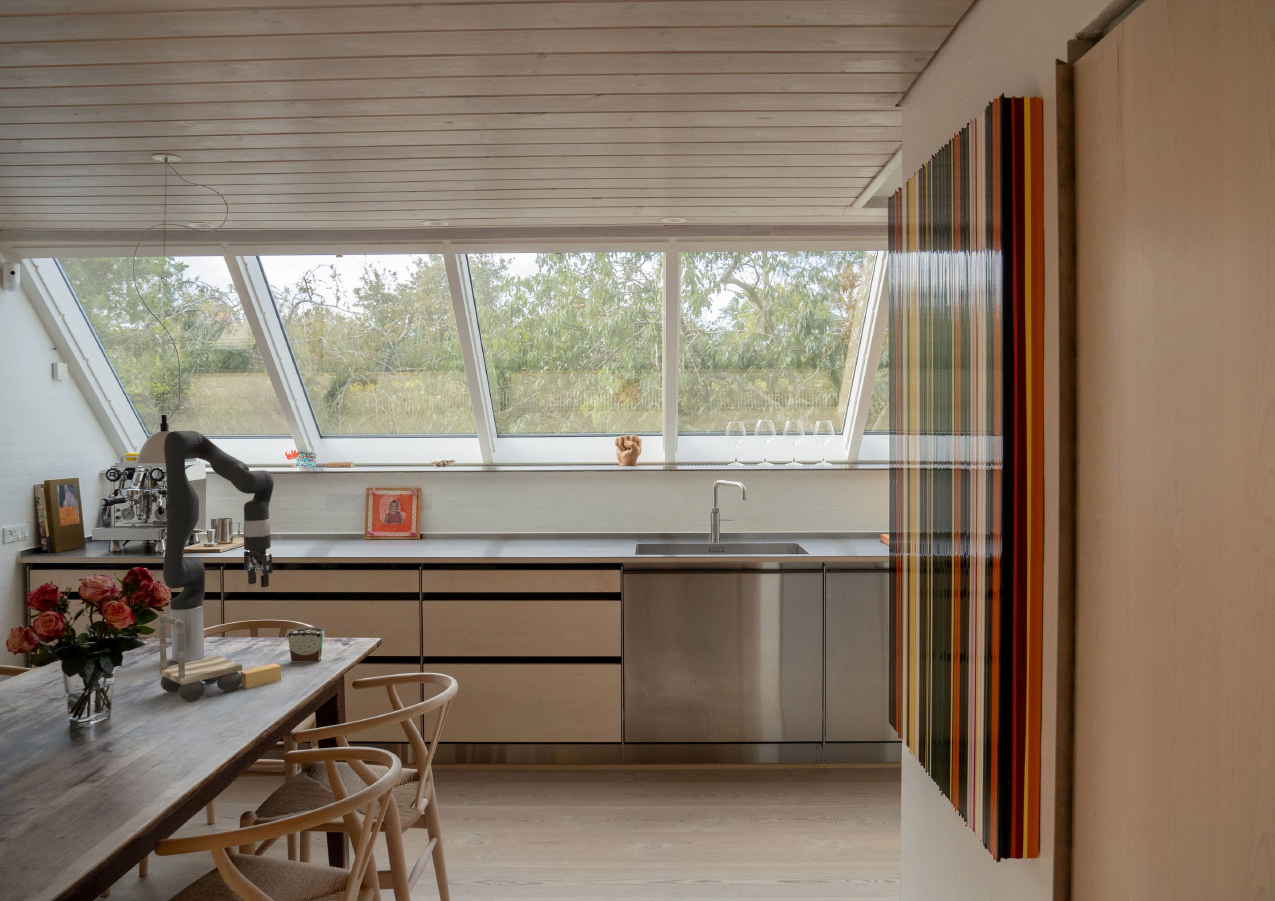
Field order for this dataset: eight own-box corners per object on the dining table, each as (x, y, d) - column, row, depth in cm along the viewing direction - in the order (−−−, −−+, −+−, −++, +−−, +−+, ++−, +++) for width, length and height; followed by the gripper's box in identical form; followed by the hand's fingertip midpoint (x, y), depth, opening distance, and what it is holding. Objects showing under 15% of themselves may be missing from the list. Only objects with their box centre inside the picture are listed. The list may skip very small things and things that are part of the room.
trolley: (159, 693, 221) (156, 614, 220) (219, 678, 233) (216, 603, 233) (181, 705, 211) (179, 621, 210) (242, 689, 223) (240, 610, 223)
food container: (332, 656, 255) (331, 626, 255) (323, 662, 249) (322, 631, 249) (297, 656, 256) (296, 626, 256) (286, 661, 250) (286, 631, 250)
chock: (240, 686, 227) (240, 671, 226) (275, 677, 234) (274, 663, 234) (246, 689, 224) (246, 673, 224) (281, 680, 231) (280, 665, 231)
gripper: (234, 533, 245) (236, 584, 245) (255, 537, 236) (256, 590, 236) (258, 531, 251) (260, 581, 251) (279, 534, 242) (281, 585, 242)
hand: (258, 585), depth 244 cm, fingers open, 8 cm apart
